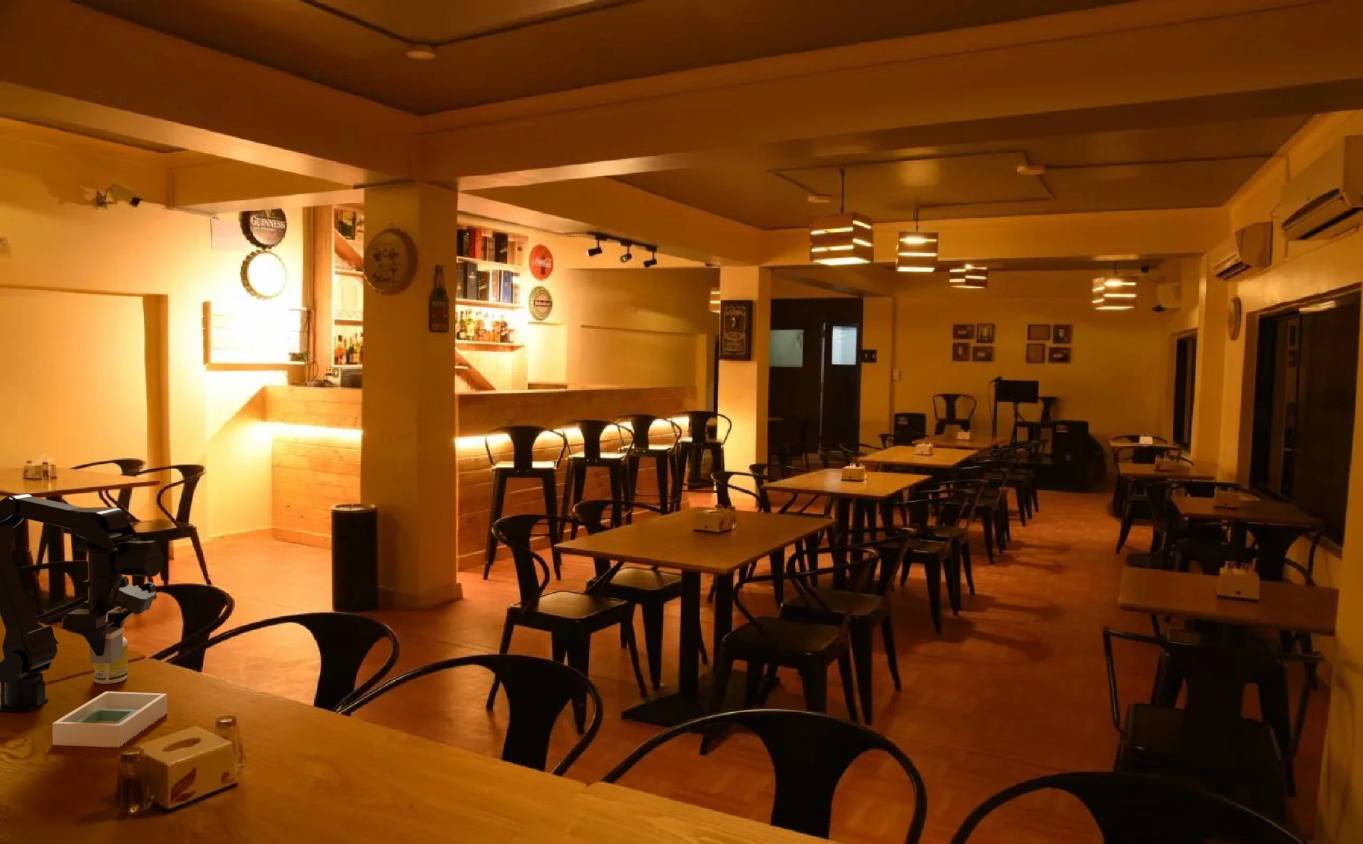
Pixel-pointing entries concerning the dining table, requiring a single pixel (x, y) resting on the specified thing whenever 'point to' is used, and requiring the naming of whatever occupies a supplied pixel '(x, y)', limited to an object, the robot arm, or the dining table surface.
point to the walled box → (109, 719)
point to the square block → (110, 647)
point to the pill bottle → (113, 668)
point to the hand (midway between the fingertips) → (106, 652)
